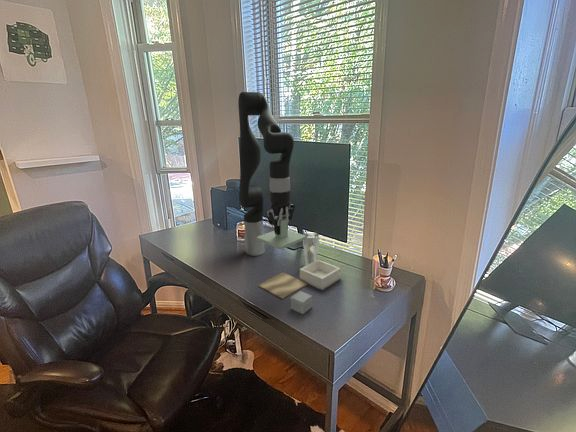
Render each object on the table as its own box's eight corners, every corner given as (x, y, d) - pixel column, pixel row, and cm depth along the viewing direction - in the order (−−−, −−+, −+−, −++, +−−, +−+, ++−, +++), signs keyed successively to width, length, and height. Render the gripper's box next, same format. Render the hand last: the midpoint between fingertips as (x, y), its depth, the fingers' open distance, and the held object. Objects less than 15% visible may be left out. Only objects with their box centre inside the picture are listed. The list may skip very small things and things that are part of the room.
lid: (256, 239, 122) (255, 219, 119) (281, 230, 131) (281, 211, 128) (281, 249, 113) (280, 228, 110) (306, 238, 122) (306, 218, 119)
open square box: (299, 279, 132) (299, 269, 130) (318, 269, 140) (318, 259, 138) (322, 290, 124) (322, 279, 122) (340, 278, 132) (340, 268, 130)
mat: (258, 286, 128) (258, 284, 128) (283, 273, 137) (283, 272, 137) (282, 299, 119) (282, 297, 118) (307, 284, 128) (307, 283, 128)
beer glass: (321, 263, 145) (321, 233, 140) (314, 270, 140) (314, 239, 135) (307, 260, 149) (307, 231, 144) (300, 266, 143) (300, 236, 138)
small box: (300, 301, 117) (300, 290, 116) (312, 307, 114) (312, 295, 112) (290, 308, 113) (290, 296, 112) (302, 315, 110) (302, 302, 108)
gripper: (286, 184, 123) (287, 225, 128) (258, 191, 113) (260, 235, 119) (300, 187, 118) (301, 230, 123) (272, 194, 108) (274, 240, 114)
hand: (281, 232), depth 121 cm, fingers closed on lid, 3 cm apart
